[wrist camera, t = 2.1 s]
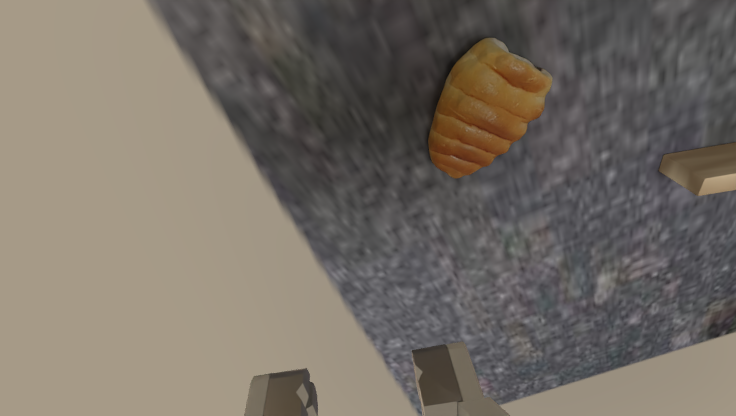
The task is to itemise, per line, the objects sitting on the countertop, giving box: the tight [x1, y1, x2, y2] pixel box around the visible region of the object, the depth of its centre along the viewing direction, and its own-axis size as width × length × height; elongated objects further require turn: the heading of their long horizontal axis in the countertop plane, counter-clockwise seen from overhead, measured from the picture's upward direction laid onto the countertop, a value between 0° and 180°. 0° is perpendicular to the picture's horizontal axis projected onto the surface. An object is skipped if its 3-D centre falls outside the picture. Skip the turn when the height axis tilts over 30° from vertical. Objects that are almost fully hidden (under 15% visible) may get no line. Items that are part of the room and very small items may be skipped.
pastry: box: [428, 38, 552, 178], centre depth 26 cm, size 9×7×4 cm
